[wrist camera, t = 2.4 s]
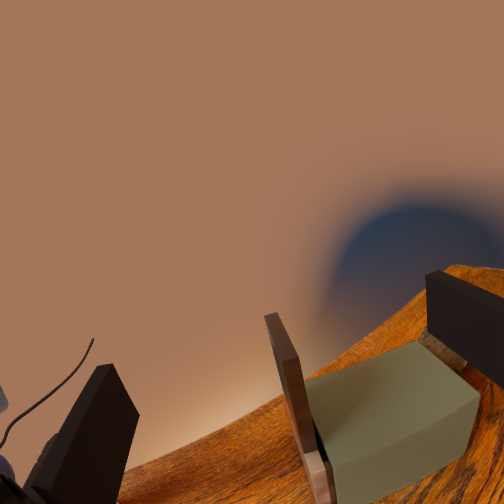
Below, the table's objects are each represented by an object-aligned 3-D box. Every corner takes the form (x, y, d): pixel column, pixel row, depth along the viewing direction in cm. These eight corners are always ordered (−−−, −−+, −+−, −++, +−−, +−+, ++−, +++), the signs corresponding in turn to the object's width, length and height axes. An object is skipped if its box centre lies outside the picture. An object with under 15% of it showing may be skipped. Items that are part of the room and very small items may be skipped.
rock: (492, 357, 36) (499, 297, 35) (446, 407, 30) (456, 338, 29) (440, 341, 46) (442, 287, 45) (387, 379, 40) (387, 317, 39)
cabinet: (339, 514, 22) (333, 466, 20) (310, 438, 34) (297, 383, 32) (464, 454, 23) (481, 394, 20) (413, 397, 35) (415, 339, 33)
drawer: (321, 518, 22) (288, 381, 17) (295, 440, 34) (260, 306, 30) (452, 460, 22) (480, 303, 18) (403, 400, 35) (398, 264, 30)
